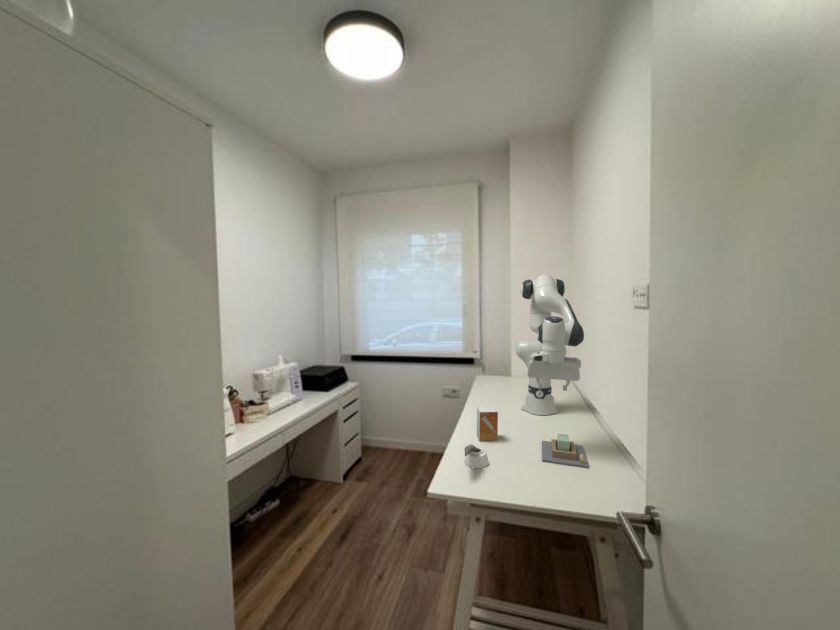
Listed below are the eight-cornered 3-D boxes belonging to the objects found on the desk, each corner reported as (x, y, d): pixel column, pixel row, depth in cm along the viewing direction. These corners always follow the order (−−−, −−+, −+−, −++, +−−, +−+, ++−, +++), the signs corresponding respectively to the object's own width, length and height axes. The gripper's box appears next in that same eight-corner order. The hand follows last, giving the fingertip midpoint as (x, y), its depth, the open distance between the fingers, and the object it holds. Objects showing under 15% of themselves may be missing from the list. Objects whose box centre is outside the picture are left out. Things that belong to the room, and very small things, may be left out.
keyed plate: (541, 442, 148) (541, 433, 148) (582, 447, 143) (582, 438, 143) (542, 461, 131) (542, 451, 131) (588, 468, 126) (588, 458, 126)
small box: (479, 441, 149) (479, 412, 149) (476, 435, 156) (476, 407, 155) (497, 440, 150) (498, 411, 149) (494, 435, 156) (494, 406, 155)
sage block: (558, 455, 134) (558, 440, 134) (557, 447, 141) (557, 433, 140) (569, 456, 133) (569, 441, 133) (567, 449, 140) (568, 434, 139)
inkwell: (491, 459, 133) (491, 434, 133) (480, 482, 117) (480, 454, 116) (467, 455, 137) (467, 430, 136) (454, 477, 120) (454, 449, 120)
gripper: (580, 356, 141) (579, 389, 142) (527, 353, 147) (527, 385, 149) (582, 359, 135) (581, 393, 136) (527, 356, 141) (527, 389, 143)
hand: (552, 389), depth 143 cm, fingers open, 8 cm apart
